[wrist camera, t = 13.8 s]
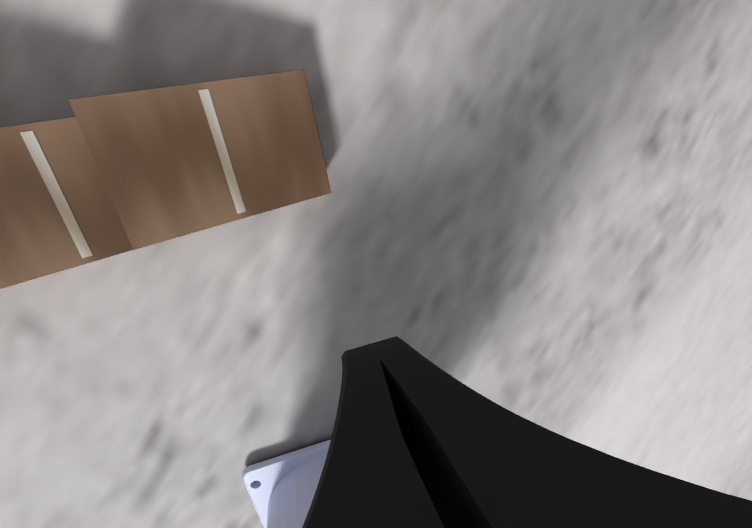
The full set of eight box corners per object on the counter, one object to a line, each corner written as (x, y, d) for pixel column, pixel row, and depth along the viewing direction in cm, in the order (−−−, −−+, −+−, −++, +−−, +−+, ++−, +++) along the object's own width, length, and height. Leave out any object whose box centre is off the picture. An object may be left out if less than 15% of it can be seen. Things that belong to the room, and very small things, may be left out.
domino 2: (331, 192, 15) (133, 249, 12) (315, 189, 17) (133, 240, 14) (304, 69, 14) (68, 99, 11) (288, 76, 15) (74, 105, 12)
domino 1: (198, 230, 15) (-49, 303, 11) (191, 224, 16) (-32, 287, 13) (152, 105, 13) (-150, 149, 10) (149, 110, 14) (-119, 150, 11)
